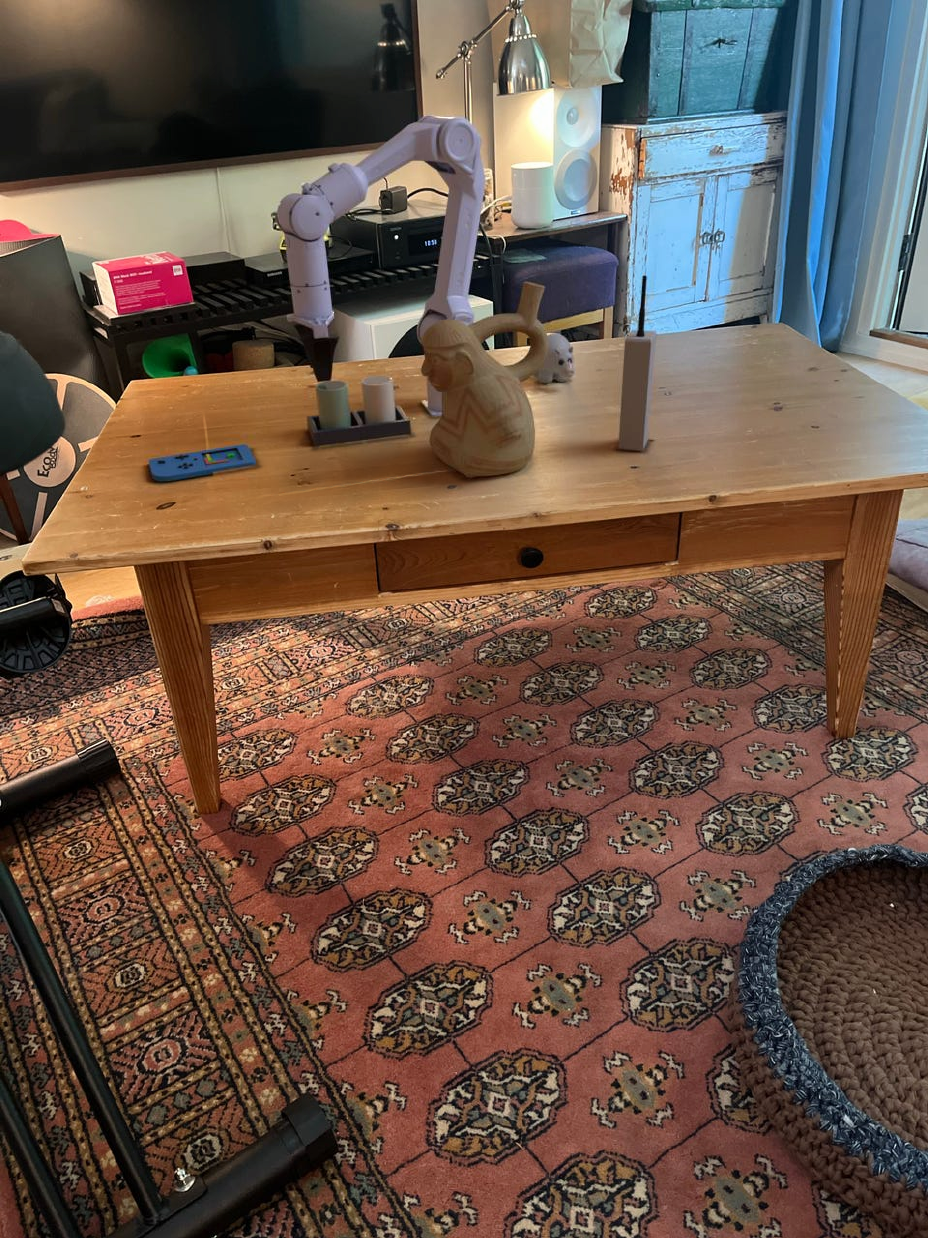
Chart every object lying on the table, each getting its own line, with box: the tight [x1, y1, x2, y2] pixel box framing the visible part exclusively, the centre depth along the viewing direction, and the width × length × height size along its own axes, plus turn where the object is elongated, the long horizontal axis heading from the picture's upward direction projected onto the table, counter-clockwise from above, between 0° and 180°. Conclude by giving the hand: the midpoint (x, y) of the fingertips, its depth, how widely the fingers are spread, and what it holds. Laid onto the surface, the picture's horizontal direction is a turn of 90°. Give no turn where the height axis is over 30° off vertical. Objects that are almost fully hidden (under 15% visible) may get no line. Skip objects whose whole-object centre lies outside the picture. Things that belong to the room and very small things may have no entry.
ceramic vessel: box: [420, 281, 548, 479], centre depth 128 cm, size 17×20×25 cm
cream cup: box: [361, 375, 396, 425], centre depth 145 cm, size 5×5×8 cm
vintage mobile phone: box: [618, 274, 657, 452], centre depth 132 cm, size 4×5×25 cm
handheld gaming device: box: [148, 443, 257, 482], centre depth 137 cm, size 8×1×15 cm
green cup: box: [314, 380, 352, 430], centre depth 143 cm, size 5×5×8 cm
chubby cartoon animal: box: [532, 332, 576, 384], centre depth 163 cm, size 7×12×8 cm, turn 16°
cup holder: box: [306, 404, 412, 447], centre depth 146 cm, size 15×8×3 cm, turn 106°
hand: (320, 373), depth 141 cm, fingers open, 7 cm apart
